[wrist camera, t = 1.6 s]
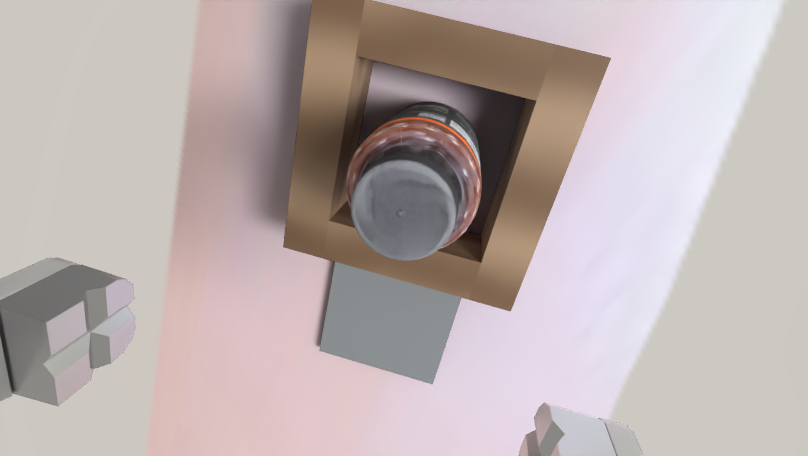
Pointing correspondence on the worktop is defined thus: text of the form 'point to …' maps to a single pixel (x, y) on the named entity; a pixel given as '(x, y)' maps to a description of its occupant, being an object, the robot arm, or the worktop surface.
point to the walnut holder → (454, 59)
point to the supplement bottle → (415, 182)
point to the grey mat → (387, 322)
